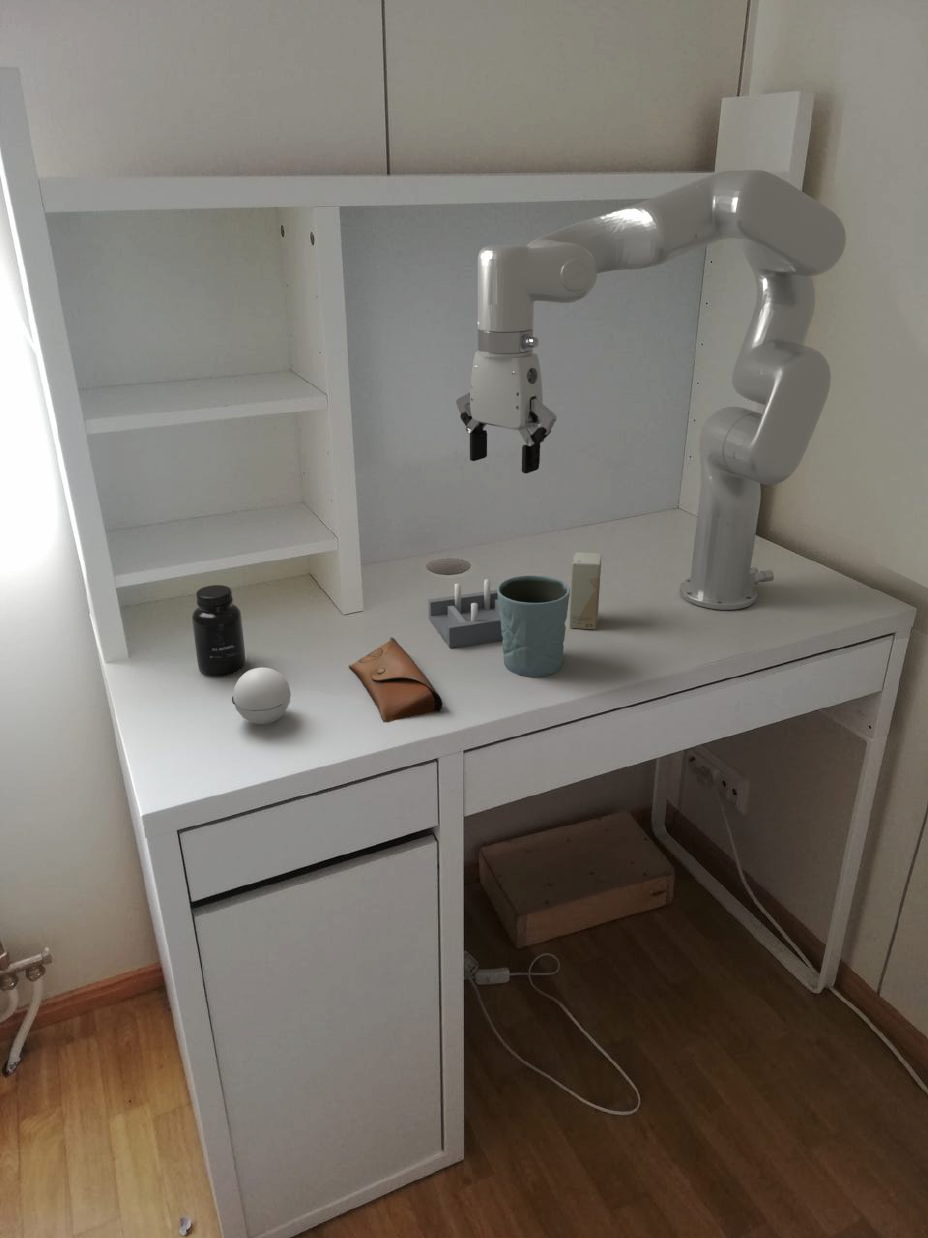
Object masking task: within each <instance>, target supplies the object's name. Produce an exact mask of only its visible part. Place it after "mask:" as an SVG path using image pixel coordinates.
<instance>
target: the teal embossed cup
mask: <svg viewBox="0 0 928 1238" xmlns="http://www.w3.org/2000/svg"><path fill="white" fill-rule="evenodd" d="M496 590H497V594H498V603H499V610H500V618H501V621H500V622H501V631H502V633H501V635H502V637H503V640H502V653H503V658H502V659H503V664H504V666H505V668H506V670H508V671H509V672H510V673H512V674H515V675H517V676H521V677H527V678H540V677H541V678H544V677H546V676H548V677H549V676H550V675H553V674H556V673H557V672H558V671H559V670H560V669H561V668H562V665H563V660H564V659H563V658H564V647H565V646H564V642H565V638H566V628H567V626H566V621H567V617H568V611H569V610H568V609H569V601H570V596H571V588H570V586H569V585H568V584H567V583H566V582H564V581H562V580H560V579H559V578H555V577H552V576H545V575H536V574H535V575H533V574H531V575H521V576H514V577H511V578H508V579H505V580H504V581H502V582H501V583H500V584H499V585H498V587H497V589H496Z"/></svg>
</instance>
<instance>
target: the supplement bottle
mask: <svg viewBox="0 0 928 1238" xmlns="http://www.w3.org/2000/svg"><path fill="white" fill-rule="evenodd" d="M195 594H196V605H197V608H195V609H194V611H193V612H192V616H191V622H192V630H193V636H194V646H195V653H196V659H197V660H196V661H197V667H198V669H199V670H200V672H201V673H202V674H205V675H207V676H210V677H224V676H225V677H226V676H229V675H233V674H235V673H239V671H241V670H242V669H243V668H244V667H245V665H246V664H247V663H246V662H247V661H246V658H247V657H246V648H245V639H244V628H243V619H242V618H243V617H242V612H241V610H240V608H239V607H238V606H237V605H235V603H233V602H234V599H233V593H232V588H230V587H228V586H226V585H223V584H222V585H220V584H215V585H214V584H213V585H206V586H204V587H200V588H199V589H198V590H197V591H196V593H195Z"/></svg>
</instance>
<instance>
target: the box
mask: <svg viewBox="0 0 928 1238" xmlns="http://www.w3.org/2000/svg"><path fill="white" fill-rule="evenodd" d="M602 556H603V555H602V554H601V553H594V552H578V551H577V552H574V555H573V559H572V567H571V581H570V582H571V583H570V584H571V585H570V587H571V588H570V600H569V601H570V605H569V628H571V629H584V630H596V629H597V625H598V619H599V608H600V607H599V606H600V605H599V604H600V589H601V588H600V587H601V575H602V574H601V573H602V571H601V570H602V568H601V567H602Z"/></svg>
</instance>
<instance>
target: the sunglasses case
mask: <svg viewBox="0 0 928 1238" xmlns="http://www.w3.org/2000/svg"><path fill="white" fill-rule="evenodd" d="M348 669H349V670H350V671H351V672H352V673H353V674H355V676H356V677H357V678H358V679H359V681H360V682H361V683H362V685H363V687H364V688H365V690H366V691H367V693H368V695H369V696H370V698H371V699H372V702H373V703H374V705H375V706H376V708H377V710H378V712H379V715H380V718H381V720H382V722H384V723H391V722H394V721H396V720H397V721H398V720H403V719H409V718H412V717H417V716H423V715H427V714H431V713H435V712H437V713H440V712H441V710H442V708H443V700H442V698H441V695H439V693H438V692H437V691H436V689H435V687H434V686H433V685H432V683H431V681H430V680H429V679H428V677H426V675H425V674H424V673H423V671H422V670H421V669H420V668H419V666H418V665H417V664H416V663H415V661H414V660H413V658H412V657H411V656H410V655H409V654H408V653H407V652H406V650H405V649H404V648H403V647H402V646H401V645H400V644H399V642H397V640H396V639H395V638H394V637H392V636H391V637H390V638H389V641H387V642H386V643H384V644H383V645H380V646H379V647H377V648H376V649H374V650H373V651H370V652H369V653H367V654H366V655H364V656H363V657H362V658H360V659H358V660H357V661H356V662H353V663H352V664H348Z"/></svg>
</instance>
